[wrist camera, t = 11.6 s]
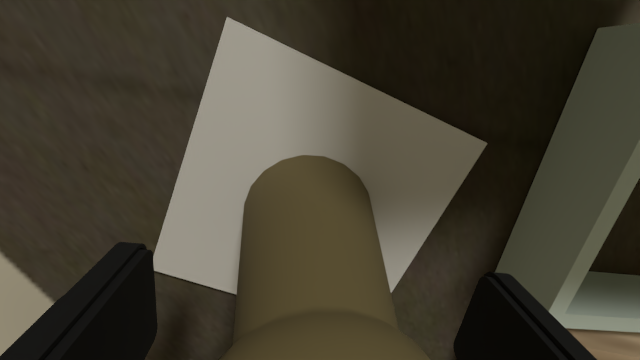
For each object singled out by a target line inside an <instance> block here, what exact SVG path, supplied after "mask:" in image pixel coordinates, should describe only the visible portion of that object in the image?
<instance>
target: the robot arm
mask: <svg viewBox="0 0 640 360" xmlns="http://www.w3.org/2000/svg"><path fill="white" fill-rule="evenodd" d="M156 333H157V313H156V297H155V281H154V265H153V253H152V251H151V250H147V249H146V246H145V245H144V244H139V243H126V242H119V243H117V244H116V245H115V246H114V247H113V248H112V249H111V250H110V251H109V252H108V253H107V254H106V255H105V256H104V257H103V258H102V259H101V260H100V261H99V262H98V263H97V264H96V265H95V266H94V267H93V268H92V269H91V270H90V271H89V272H88V273H87V274H85V275H84V276H83V277H82V278H81V279H80V280H79V281H78V282H77V283H76V284H75V285H74V286H73V287H72V288H71V289H70V290H69V291H68V292H67V293H66V294H65V295H64V296H62V297H61V298H60V299H59V300H57V301H56V302H55V303H54V304H53V305H52V306H51V307H50V308H49V309H48V310H47V311H46V312H45V313H44V314H43V315H42V316H41V317H40V318H39V319H38V320H37V321H36V322H35V323H34V324H33V325H32V326H31V327H30V328H29V329H28V330H27V331H26V332H25V333H24V334H23V335H22V336H21V337H19V338H18V339H17V340H16V341H15V342H14V343H13V344H12V345H11V346H10V347H9V348H8V349H7V350H6V351H5V352H4V353H3V354H2V355H1V356H0V360H144V359H145V357H146V355H147V353H148V351H149V349H150V348H151V346H152V344H153V342H154V339H155V337H156ZM454 352H455V355H456V357H457V359H458V360H597V359H596V358H595V357H594V356H593V355H592V354H591V353H590V352H589V351H588V350H587V349H586V348H585V347H584V346H583V345H582V344H581V343H580V342H579V341H578V340H577V339H576V338H575V337H574V336H573V335H572V334H571V333H570V332H569V331H568V330H567V329H566V328H565V327H564V326H563V325H562V324H561V323H560V322H559V321H558V320H557V319H556V318H555V317H554V316H553V315H552V314H550V313H549V312H548V311H547V310H546V309H545V308H544V307H543V306H542V305H541V304H540V303H539V302H538V301H537V300H536V299H535V298H534V297H533V296H532V295H531V294H530V293H529V292H528V291H527V290H526V289H525V288H524V287H523V286H522V285H521V284H520V283H519V282H518V281H517V280H516V279H515V278H514V277H513V276H512V275H510V274H507V273H497V272H487V273H486V274H485V275H484V277H481V278H480V279H479V281H478V284H477V286H476V289H475V291H474V294H473V296H472V299H471V301H470V304H469V306H468V309H467V311H466V314H465V316H464V319H463V321H462V324H461V326H460V328H459V331H458V333H457V336H456V338H455V341H454Z"/></svg>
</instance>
